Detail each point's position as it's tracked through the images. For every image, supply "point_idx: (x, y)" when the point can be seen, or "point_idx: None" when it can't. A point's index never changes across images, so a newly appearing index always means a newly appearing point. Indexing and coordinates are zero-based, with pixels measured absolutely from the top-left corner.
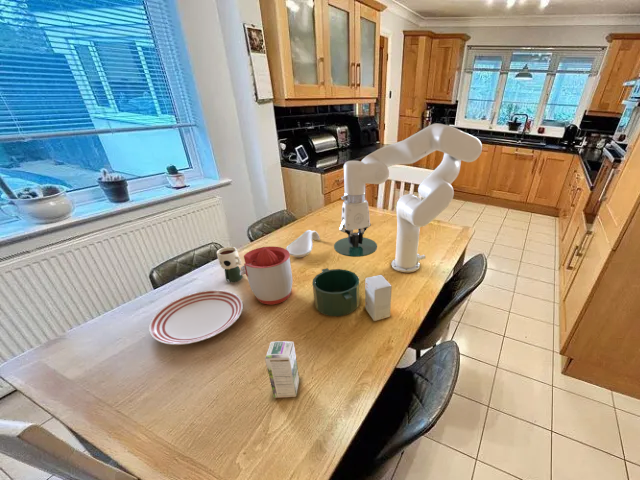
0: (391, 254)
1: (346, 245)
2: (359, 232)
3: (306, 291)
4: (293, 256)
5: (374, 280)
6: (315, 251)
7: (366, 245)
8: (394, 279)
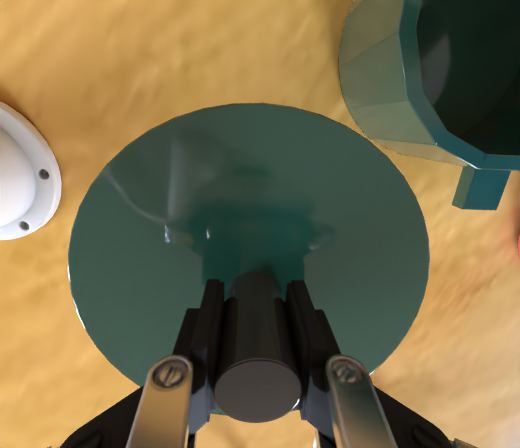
0: (21, 288)
1: None
2: (203, 400)
3: None
4: None
5: None
6: (297, 412)
7: (170, 260)
8: (98, 82)
